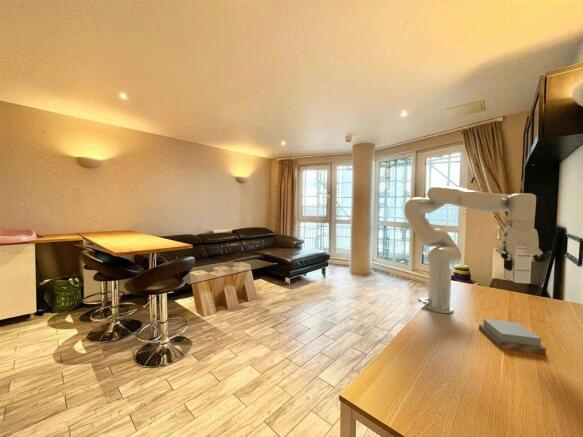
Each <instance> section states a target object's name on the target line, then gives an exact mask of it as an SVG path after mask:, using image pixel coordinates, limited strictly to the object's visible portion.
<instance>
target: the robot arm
mask: <svg viewBox="0 0 583 437" xmlns="http://www.w3.org/2000/svg"><path fill="white" fill-rule="evenodd" d="M426 196H427V197H413V198H411V199H409V200H407V201H406V203H405V205H404V210H403V212H404V216H405V218H406V220H407V222H408V223H409V225H410V226H411V227H412V229H413V231H414V232H415V234H416V236H417V238H418V239H419V241H420V242H421V244H422V245H424V246H425V247H428V248H432V249H431V250H429V252H428V254H427V261H428V266H429V267H428V268H429V270H428V271H429V273H428V277H429V278H428V296H425V297H424V298H422V297H418V298H417V301H418V303H422V304H424V307H425V306H426V307H425V308H426V309H428V310H430V311H432V312H436V313H438V314H439V313H440V314H452V313H453V312H454V307H453V306H451V290H452V289H451V287H452V272H451V268H450V266H451V265H456V264H458V263H460V261H461V260H462V253H461V251H460V249H459V247H458V245H457V243H455V241H454V240H453V239H452V237H451V236H450V234H449V233H448V232H447V231H446V230H444V229H441V228H434V226H432V225H431V223H430V222H429V220H428V219H427V218H426V217H425V216H424V215H423V214H430V213H433V212H434V211H438V209H440V208H442V207H443V206H445V205H452V206H456V207H463V208H467V209H472V210H477V211H483V212H490V213H491V212H494V213H495V212H497V213H500V212H501V213H503V212H507V214H508V215H507V221H504V222H503V223H504V226H507V227H505V229H504V231H503V235H502V240H501V245H500V246H498V247H497V248H496V249H495V251H494V252H496V253H497V254H498V255H499V256H500V257H501V258H502V259H503V268H504V270H505V269H506V270H509V271H511V270H512V261H510V260H511V258H512V254H515V252H516V247H519V246H520V247H526V248H527V249H526V248H524V249H525V250H524V252H525V253H526V254H532V260H531V270H532V268H533V263H534V262H535V260H536V259H538V258H539V257H540V256H541V255H543V253H544V252H543V251H542V250H541V249H540V248H539V245H540V242H539V234H538V230H537V229H536V228H535V220H536V218H535V217H536V205H537V196H536V195H535V194H533V193H525V192H524V193H523V192H522V193H513V194H508V193H507V194H506V193H498V192H497V193H494V192H484V191H483V192H482V191H477V190H476V191H475V190H469V189H467V188H464V187H454V186H448V185H433V186H431V187H430V188H429V189H428V190H427V195H426ZM433 247H434V248H433ZM528 247H529V248H528ZM427 302H428V303H427ZM426 303H427V304H426ZM425 304H426V305H425Z"/></svg>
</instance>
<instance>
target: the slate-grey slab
mask: <svg viewBox="0 0 583 437" xmlns="http://www.w3.org/2000/svg"><path fill="white" fill-rule="evenodd" d="M482 325H483V326H484V327H485V328H486V329H487V330H489V331H490V332H491V333H492V334H493V335H494V336H495V337H497V338H498V339H499V340H500V341H502V342H509V343H517V344H524V345H532V346H539V347H541V345H542V337H540V336H538V335H536V334H535V333H534V332H532V331H530V330H529V329H528V328H526V327H524V326H523V325H522V324H520V323H519V322H513V321H505V320H504V321H503V320H497V319H496V320H494V319H487V318H483V324H482Z"/></svg>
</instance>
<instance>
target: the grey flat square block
mask: <svg viewBox="0 0 583 437" xmlns="http://www.w3.org/2000/svg"><path fill="white" fill-rule="evenodd" d="M478 330H479V331H480V332H481V333H482V334H484V335H485V337H487V338H488V339H489V340H490V341H491V342H492V343H493V344H494V345H496V347H498V349H500V350H501V349H502V350H508V351H517V352H525V353H532V354H540V355H541V354H542V355H547V348H546V347H545V346H543V345H542V344H541V347H539V346H532V345H524V344H517V343H509V342H502V341H500V340H499V339H498V338H497V337H495V336H494V335H493V334H492V333H491V332H490V331H489V330H487V329H486V328H485V327H484V326H483V324H479V325H478Z"/></svg>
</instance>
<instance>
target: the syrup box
mask: <svg viewBox="0 0 583 437" xmlns="http://www.w3.org/2000/svg"><path fill="white" fill-rule="evenodd" d="M524 248H526V247H520V246H519V247H516V252H515V254H512V258H511V260H510V261H512V270H511V271H509V270H506V269H504V275H503V277H504V279H505V280H508V281H511V282H513V283H515V284H517V283H518V284H531V276H532V269H531V260H532V254H526V253H525V252H524V250H525V249H524ZM528 248H529V247H528ZM526 249H527V248H526Z"/></svg>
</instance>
